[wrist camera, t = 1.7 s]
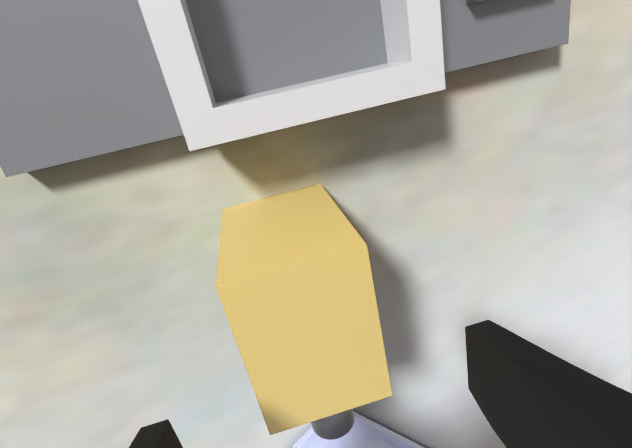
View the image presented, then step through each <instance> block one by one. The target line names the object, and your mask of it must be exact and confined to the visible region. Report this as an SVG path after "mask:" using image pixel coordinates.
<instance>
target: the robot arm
mask: <svg viewBox="0 0 632 448" xmlns="http://www.w3.org/2000/svg"><path fill="white" fill-rule="evenodd" d="M465 332H466V350H467V368H468V385H469V390H470V391H471V393H472V395H473V397H474V398H475V400H476V402H477V403H478V405H479V407H480V409H481V410H482V412H483V414H484V415H485V417H486V419H487V420H488V422H489V423H490V425H491V427H492V428H493V430H494V431H495V432H496V434H497V435H498V437H499V438H500V439H501V441H502V442H503V443H504V445H505V446H506V447H507V448H632V394H631V393H629V392H627V391H625V390H623V389H621V388H618V387H616V386H614V385H612V384H610V383H608V382H606V381H604V380H602V379H600V378H598V377H596V376H594V375H592V374H590V373H588V372H586V371H584V370H582V369H580V368H578V367H576V366H574V365H572V364H570V363H568V362H566V361H564V360H562V359H561V358H559V357H557V356H555V355H553V354H551V353H549V352H547V351H545V350H544V349H542V348H540V347H538V346H536V345H534V344H532V343H531V342H529V341H527V340H525V339H523V338H521V337H520V336H518V335H516V334H514V333H512V332H510V331H509V330H507V329H505V328H503V327H501V326H499V325H497V324H496V323H494V322H492V321H490V320H486V321H483V322H480V323H476V324H473V325H470V326H467V327H465ZM353 413H354V424H353V426H352V428H351V430H350V431H349V432H348V433H347V434H346V435H344V436H343V437H341V438H338V439H334V440H327V439H323V438H321V437H319V436H318V435H317V434H316V433H315V432H314V430H313V428H312V426H311V427H310V429H309V430H308V431H307V432H306V433H305V434H304V435H303V436H302V437H301V438H300V439H299V440H298V441H297V442H296V443H295V444H294V445H293V447H292V448H425V447H423V446H421V445H419V444H417V443H415V442H413V441H411V440H409V439H407V438H405V437H403V436H401V435H399V434H397V433H395V432H393V431H391V430H389V429H387V428H385V427H383V426H381V425H379V424H377V423H375V422H373V421H371V420H369V419H367V418H365V417H363V416H361V415H359V414H358V413H356V412H354V411H353ZM129 448H183V447H182V445H181V443H180V441H179V439H178V437H177V435H176V434H175V432H174V430H173V428H172V426H171V424H170V422H169V420H165V421H161V422H158V423H155V424H152V425H149V426H145V427H142V428H141V429H140V430H139V432H138V433H137V435H136V437H135V438H134V440H133V442H132V443H131V445H130V447H129Z"/></svg>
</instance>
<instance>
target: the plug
mask: <svg viewBox="0 0 632 448" xmlns="http://www.w3.org/2000/svg"><path fill="white" fill-rule="evenodd" d="M216 289H217V291H218V294H219V297H220V299H221V302H222V305H223V308H224V310H225V313H226V316H227V319H228V321H229V324H230V327H231V329H232V332H233V335H234V338H235V340H236V343H237V346H238V348H239V351H240V354H241V357H242V359H243V362H244V365H245V368H246V370H247V373H248V376H249V378H250V381H251V384H252V387H253V389H254V392H255V395H256V398H257V400H258V403H259V406H260V408H261V411H262V414H263V417H264V419H265V422H266V425H267V428H268V430H269V433H270V435H272V434H275V433H278V432H281V431H284V430H288V429H291V428H294V427H297V426H300V425H303V424H306V423H309V422H311V424H312V428H313V430H314V432H315V433H316V434H317V435H318V436H319V437H321V438H323V439H327V440H334V439H338V438H341V437H343V436H344V435H346V434H347V433H348V432H349V431H350V430H351V428H352V426H353V424H354V413H353V408H356V407H359V406H362V405H365V404H368V403H371V402H374V401H377V400H381V399H384V398H387V397H390V396H392V390H391V384H390V378H389V372H388V367H387V361H386V355H385V349H384V343H383V337H382V331H381V325H380V319H379V313H378V307H377V302H376V296H375V290H374V284H373V278H372V272H371V266H370V260H369V254H368V248H367V244H366V243H365V242H364V240H363V239H362V238H361V236H360V235H359V234H358V232H357V231H356V230H355V228H354V227H353V226H352V225H351V223H350V222H349V221H348V219H347V218H346V217H345V215H344V214H343V213H342V211H341V210H340V209H339V207H338V206H337V205H336V203H335V202H334V201H333V199H332V198H331V197H330V195H329V194H328V193H327V192H326V190H325V189H324V188H323V186H322V185H321V184H317V185H314V186H310V187H306V188H302V189H298V190H294V191H291V192H287V193H283V194H279V195H275V196H271V197H267V198H264V199H260V200H256V201H252V202H248V203H244V204H241V205H237V206H233V207H229V208H225V209H223V212H222V223H221V235H220V246H219V258H218V269H217V281H216Z"/></svg>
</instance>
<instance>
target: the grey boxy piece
mask: <svg viewBox="0 0 632 448" xmlns="http://www.w3.org/2000/svg"><path fill="white" fill-rule="evenodd" d="M570 2H571V0H0V166H1V168H2V170H3V172H4V174H5V175H6V177H9V176H13V175H17V174H22V173H26V172H30V171H34V170H38V169H43V168H47V167H51V166H55V165H59V164H64V163H68V162H72V161H76V160H80V159H85V158H89V157H93V156H97V155H101V154H106V153H110V152H114V151H118V150H122V149H127V148H131V147H135V146H139V145H143V144H148V143H152V142H156V141H160V140H164V139H169V138H173V137H177V136H181V135H184V137H185V140H186V143H187V146H188V149H189V151H193V150H197V149H201V148H205V147H209V146H214V145H218V144H222V143H226V142H230V141H234V140H238V139H242V138H247V137H251V136H255V135H259V134H263V133H267V132H271V131H275V130H280V129H284V128H288V127H292V126H296V125H300V124H304V123H308V122H312V121H317V120H321V119H325V118H329V117H333V116H337V115H341V114H345V113H350V112H354V111H358V110H362V109H366V108H370V107H374V106H378V105H383V104H387V103H391V102H395V101H399V100H403V99H407V98H411V97H415V96H420V95H424V94H428V93H432V92H436V91H440V90H444V89H446V88H445V73H446V72H450V71H454V70H458V69H463V68H467V67H471V66H475V65H479V64H484V63H488V62H492V61H496V60H500V59H505V58H509V57H513V56H517V55H521V54H526V53H530V52H534V51H538V50H542V49H547V48H551V47H555V46H559V45H563V44H568V37H569V20H570Z"/></svg>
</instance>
